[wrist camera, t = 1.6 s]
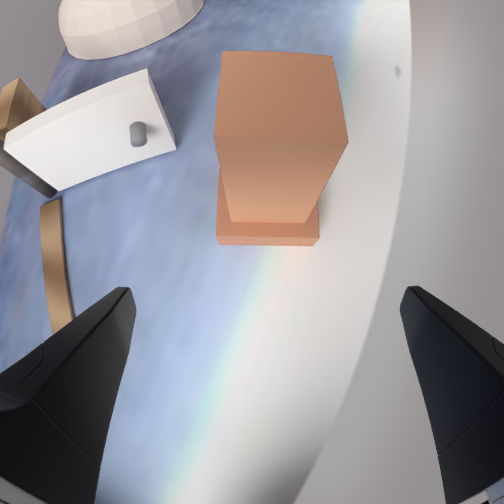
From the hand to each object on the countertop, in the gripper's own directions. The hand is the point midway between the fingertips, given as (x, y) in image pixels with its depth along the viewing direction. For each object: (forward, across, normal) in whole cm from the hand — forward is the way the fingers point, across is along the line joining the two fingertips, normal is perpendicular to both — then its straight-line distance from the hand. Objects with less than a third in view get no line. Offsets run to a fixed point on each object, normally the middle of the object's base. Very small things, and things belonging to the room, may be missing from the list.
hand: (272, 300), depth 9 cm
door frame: (+14, +19, +4) cm, 24 cm away
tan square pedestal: (+15, -1, +3) cm, 15 cm away
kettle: (+36, +17, -18) cm, 43 cm away
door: (+17, +13, 0) cm, 21 cm away
